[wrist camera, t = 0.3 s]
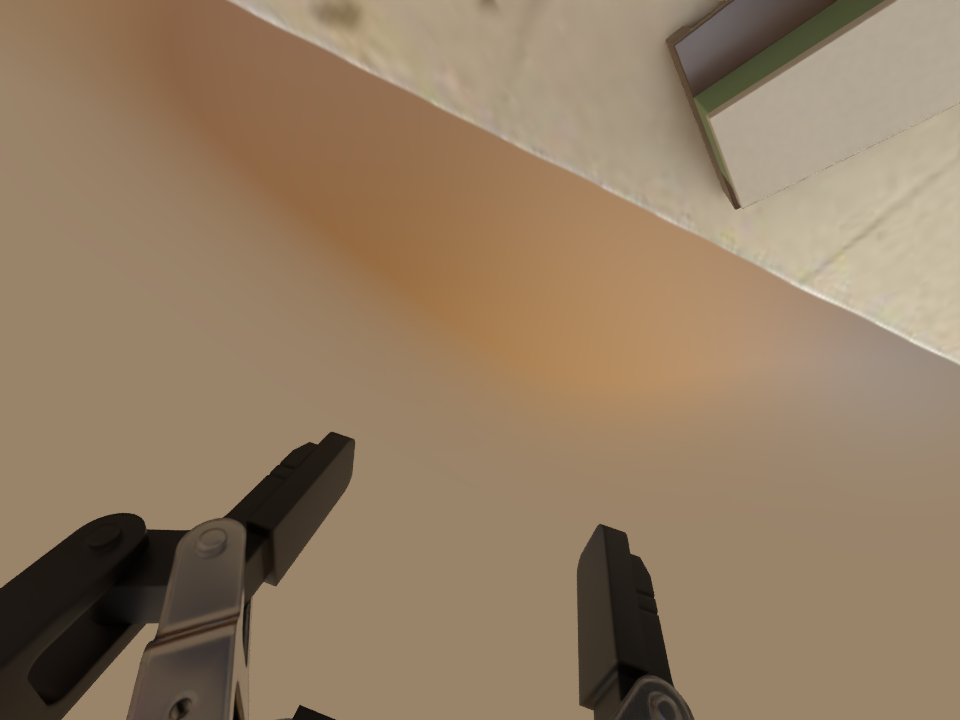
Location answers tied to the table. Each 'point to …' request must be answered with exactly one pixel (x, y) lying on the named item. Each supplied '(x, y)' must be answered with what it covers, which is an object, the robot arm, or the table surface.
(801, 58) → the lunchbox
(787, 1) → the low shelf
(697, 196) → the table surface
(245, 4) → the table surface
